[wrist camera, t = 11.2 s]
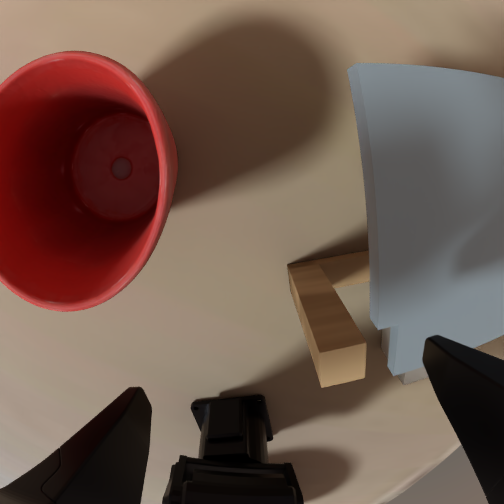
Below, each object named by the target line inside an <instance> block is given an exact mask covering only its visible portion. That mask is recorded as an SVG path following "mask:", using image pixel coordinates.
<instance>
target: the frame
mask: <svg viewBox="0 0 504 504" xmlns="http://www.w3.org/2000/svg"><path fill="white" fill-rule="evenodd" d="M287 267H288V275H289V283H290V290H291V294H292V297H293V300H294V303H295V306H296V309H297V312H298V315H299V318H300V321H301V324H302V328H303V331H304V334H305V337H306V340H307V343H308V346H309V350H310V353H311V356H312V359H313V362H314V365H315V369H316V372H317V375H318V378H319V381H320V385H321V388H323V387H328V386H333V385H337V384H342V383H346V382H350V381H354V380H358V379H362V378H365V367H366V341H365V339H364V338H363V336H362V334H361V332H360V331H359V329H358V327H357V326H356V324H355V322H354V321H353V319H352V317H351V316H350V314H349V312H348V311H347V309H346V307H345V306H344V304H343V303H342V301H341V299H340V298H339V296H338V294H337V293H336V291H335V289H334V288H338V287H344V286H349V285H354V284H359V283H364V282H368V281H370V268H369V250H368V251H362V252H357V253H351V254H345V255H340V256H334V257H328V258H323V259H317V260H311V261H306V262H300V263H294V264H288V265H287Z"/></svg>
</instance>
